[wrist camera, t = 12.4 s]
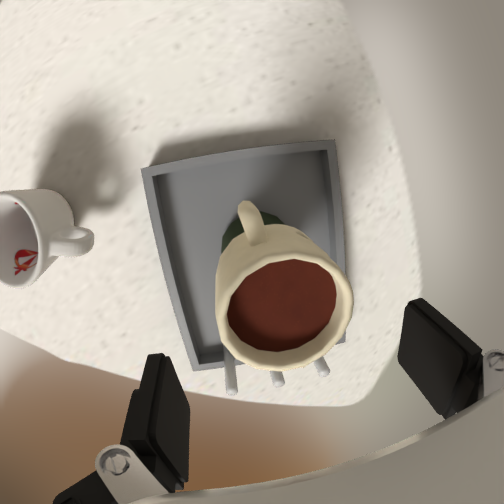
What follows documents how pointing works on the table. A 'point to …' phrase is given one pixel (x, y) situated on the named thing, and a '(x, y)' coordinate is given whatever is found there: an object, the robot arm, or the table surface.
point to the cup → (36, 234)
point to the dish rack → (223, 214)
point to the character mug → (278, 294)
